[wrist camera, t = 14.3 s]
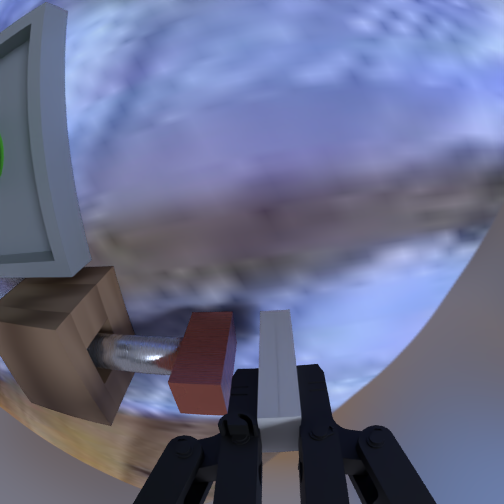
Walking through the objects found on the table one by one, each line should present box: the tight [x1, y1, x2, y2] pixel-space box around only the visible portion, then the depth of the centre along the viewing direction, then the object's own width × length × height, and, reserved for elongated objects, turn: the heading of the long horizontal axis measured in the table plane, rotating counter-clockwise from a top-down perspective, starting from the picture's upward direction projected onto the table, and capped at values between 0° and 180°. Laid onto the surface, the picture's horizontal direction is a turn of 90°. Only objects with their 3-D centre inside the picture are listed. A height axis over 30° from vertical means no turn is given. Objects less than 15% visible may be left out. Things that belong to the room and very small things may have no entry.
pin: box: [87, 312, 237, 415], centre depth 14 cm, size 10×2×5 cm, turn 94°
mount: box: [0, 266, 135, 426], centre depth 15 cm, size 7×7×6 cm
